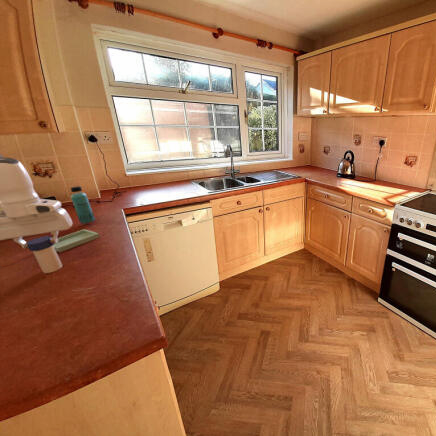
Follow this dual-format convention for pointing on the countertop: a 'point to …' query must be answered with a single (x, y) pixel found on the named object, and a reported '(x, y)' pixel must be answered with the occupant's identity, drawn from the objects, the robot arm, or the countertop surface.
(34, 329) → the countertop surface
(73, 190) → the beverage bottle
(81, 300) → the countertop surface
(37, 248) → the jar lid
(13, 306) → the countertop surface
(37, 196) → the robot arm
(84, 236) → the serving tray
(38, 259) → the jam jar
